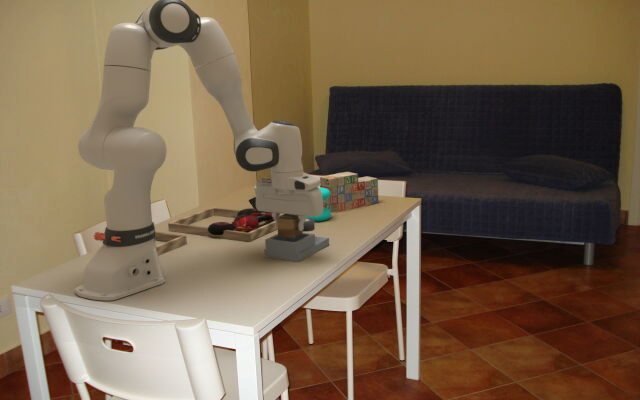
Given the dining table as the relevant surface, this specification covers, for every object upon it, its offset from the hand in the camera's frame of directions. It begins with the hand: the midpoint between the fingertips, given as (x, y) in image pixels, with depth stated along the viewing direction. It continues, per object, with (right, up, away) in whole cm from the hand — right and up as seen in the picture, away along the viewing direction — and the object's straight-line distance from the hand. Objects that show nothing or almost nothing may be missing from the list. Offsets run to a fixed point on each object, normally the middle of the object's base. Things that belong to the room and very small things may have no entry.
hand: (289, 228), depth 182 cm
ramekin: (-11, +8, +70) cm, 72 cm away
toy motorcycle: (-15, -1, +29) cm, 32 cm away
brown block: (0, -2, +1) cm, 2 cm away
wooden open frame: (-21, -1, +32) cm, 38 cm away
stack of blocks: (+19, +5, +54) cm, 57 cm away
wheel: (+4, 0, +7) cm, 9 cm away
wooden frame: (-44, -6, +13) cm, 46 cm away
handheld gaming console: (-10, +3, +51) cm, 52 cm away
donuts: (+7, +2, +38) cm, 39 cm away
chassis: (+2, -6, +4) cm, 8 cm away
